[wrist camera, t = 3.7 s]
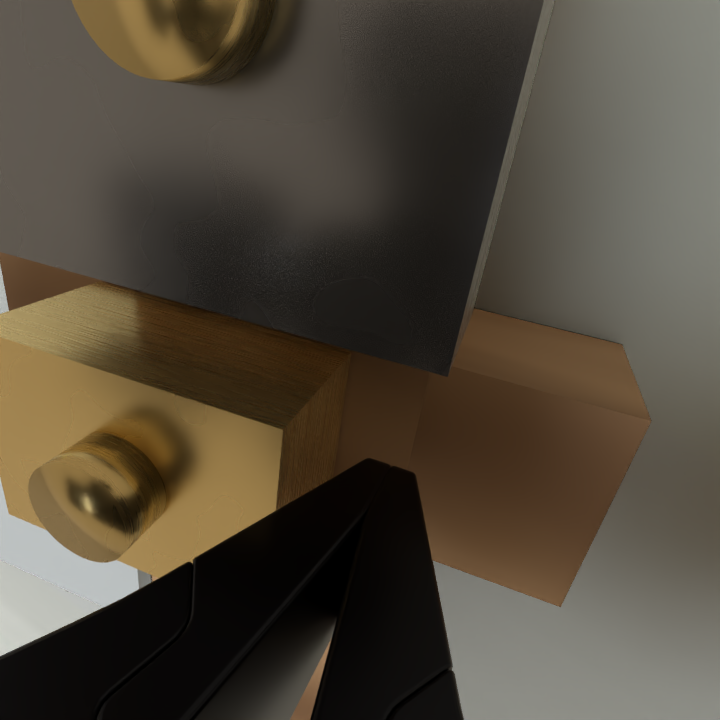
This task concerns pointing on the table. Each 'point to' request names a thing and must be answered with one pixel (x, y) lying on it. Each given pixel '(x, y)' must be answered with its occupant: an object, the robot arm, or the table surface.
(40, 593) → the table surface
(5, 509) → the mat
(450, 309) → the cap plate
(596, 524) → the plane body
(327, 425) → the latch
